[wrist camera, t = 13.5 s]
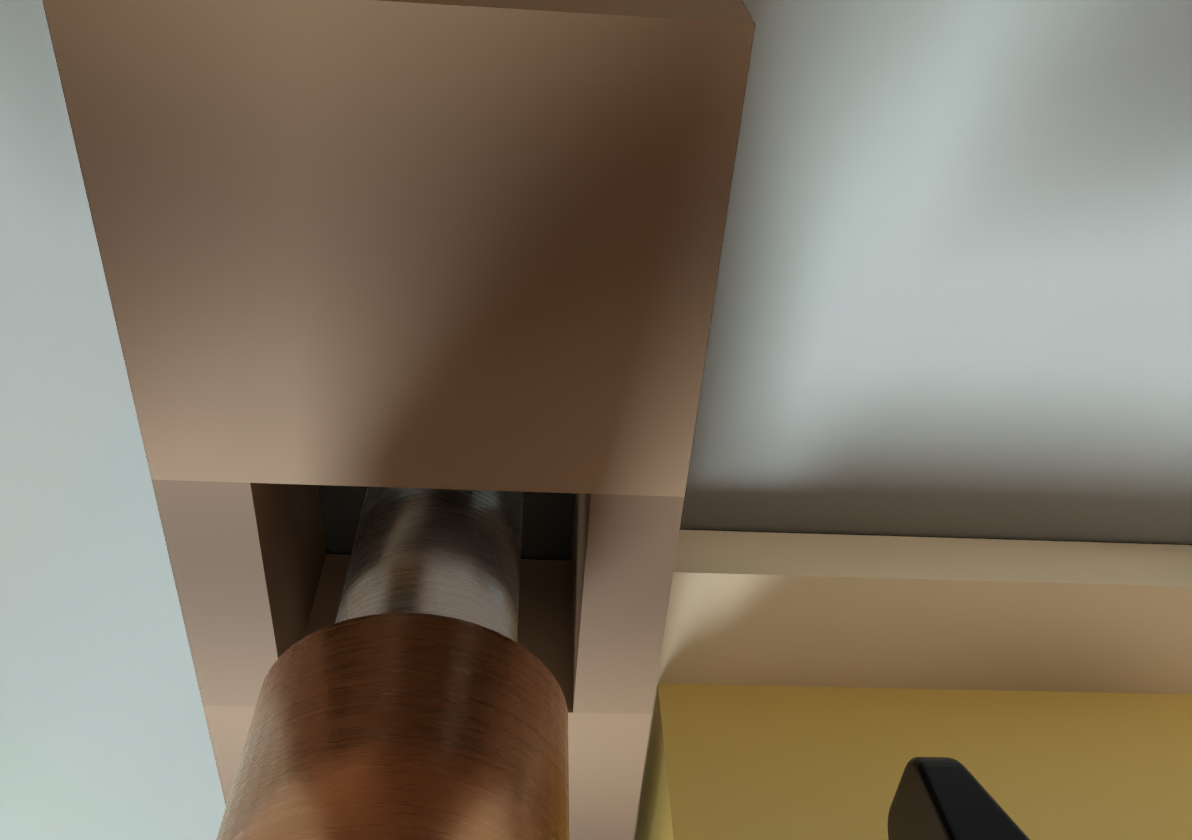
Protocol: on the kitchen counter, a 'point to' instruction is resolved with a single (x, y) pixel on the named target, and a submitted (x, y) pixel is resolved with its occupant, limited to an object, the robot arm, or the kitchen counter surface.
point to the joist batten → (415, 304)
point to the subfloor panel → (927, 614)
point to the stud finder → (891, 739)
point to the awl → (412, 693)
